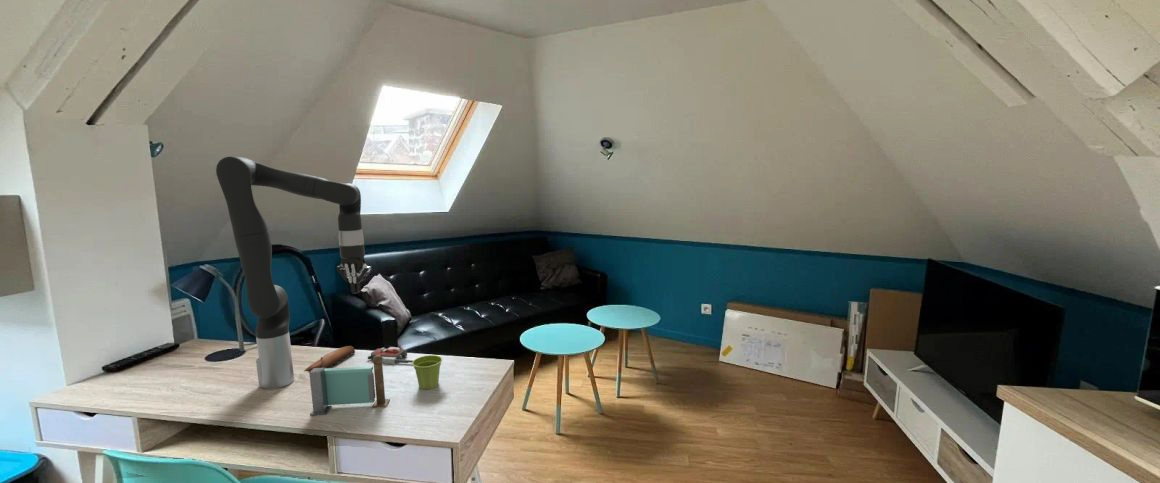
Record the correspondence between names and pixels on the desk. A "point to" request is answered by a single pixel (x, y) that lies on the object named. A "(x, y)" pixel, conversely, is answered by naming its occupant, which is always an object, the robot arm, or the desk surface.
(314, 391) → the latch post
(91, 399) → the desk surface
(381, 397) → the hinge post
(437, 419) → the desk surface
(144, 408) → the desk surface
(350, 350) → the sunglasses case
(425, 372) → the plant pot
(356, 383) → the gate
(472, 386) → the desk surface
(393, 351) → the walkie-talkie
